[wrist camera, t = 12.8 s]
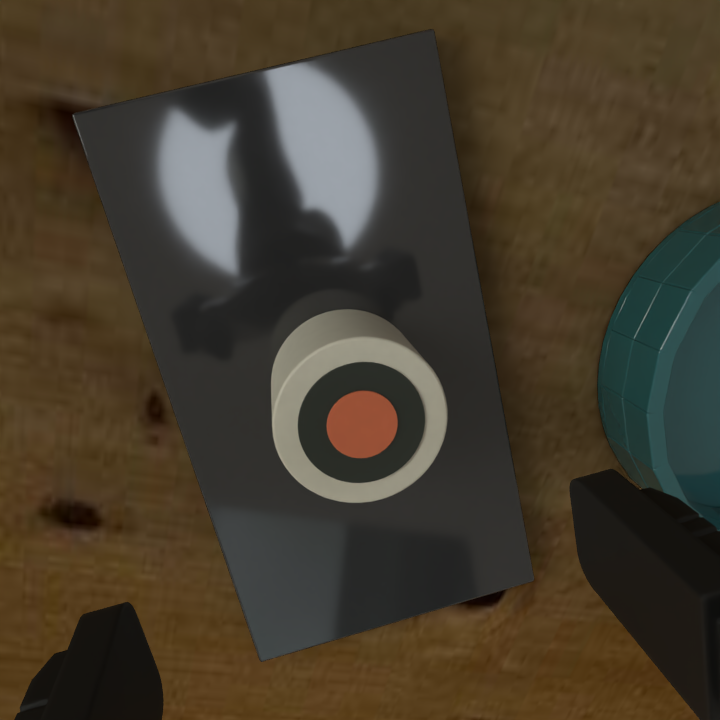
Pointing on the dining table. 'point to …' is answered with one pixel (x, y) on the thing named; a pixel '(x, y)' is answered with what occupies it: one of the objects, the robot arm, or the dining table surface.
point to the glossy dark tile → (304, 301)
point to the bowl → (669, 368)
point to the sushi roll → (355, 407)
